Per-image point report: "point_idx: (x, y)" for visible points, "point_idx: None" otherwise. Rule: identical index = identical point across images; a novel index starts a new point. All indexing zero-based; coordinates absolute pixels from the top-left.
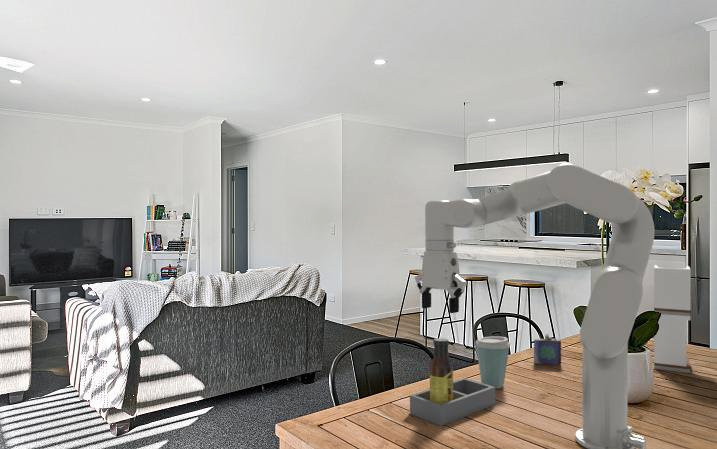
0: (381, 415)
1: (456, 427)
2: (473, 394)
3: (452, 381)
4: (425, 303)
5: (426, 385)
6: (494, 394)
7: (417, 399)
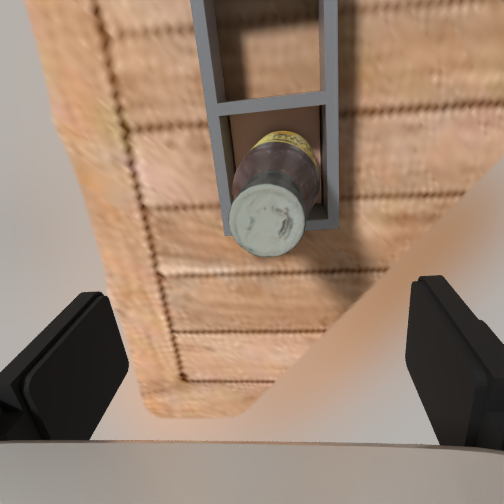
0: (204, 273)
1: (362, 187)
2: (336, 69)
3: (315, 161)
4: (108, 379)
5: (62, 15)
6: None
7: None
